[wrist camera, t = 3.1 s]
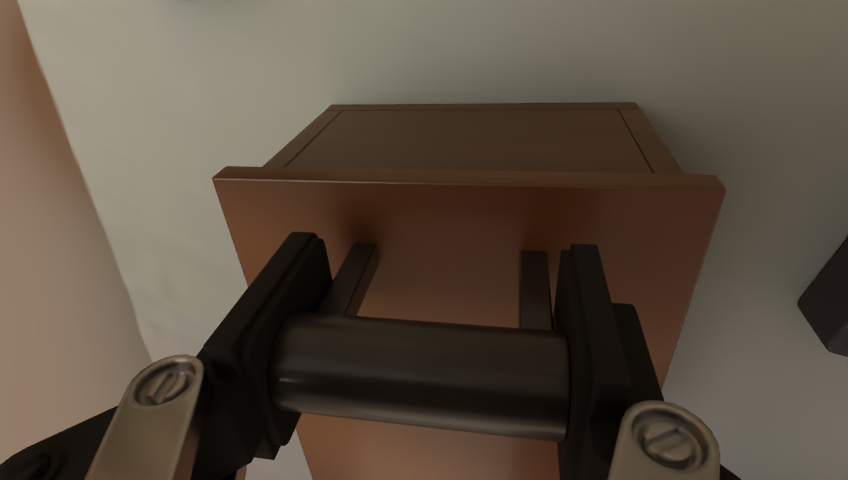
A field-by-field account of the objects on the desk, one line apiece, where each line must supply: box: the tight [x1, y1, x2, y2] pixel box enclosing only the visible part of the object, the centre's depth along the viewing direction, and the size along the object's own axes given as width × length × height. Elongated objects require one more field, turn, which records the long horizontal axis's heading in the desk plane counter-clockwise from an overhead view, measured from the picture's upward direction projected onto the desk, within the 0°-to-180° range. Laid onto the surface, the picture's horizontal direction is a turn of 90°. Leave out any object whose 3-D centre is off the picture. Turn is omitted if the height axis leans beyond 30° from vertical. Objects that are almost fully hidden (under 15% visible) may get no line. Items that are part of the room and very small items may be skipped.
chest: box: [263, 103, 684, 174], centre depth 20 cm, size 16×13×8 cm
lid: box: [212, 166, 726, 480], centre depth 14 cm, size 16×13×6 cm
